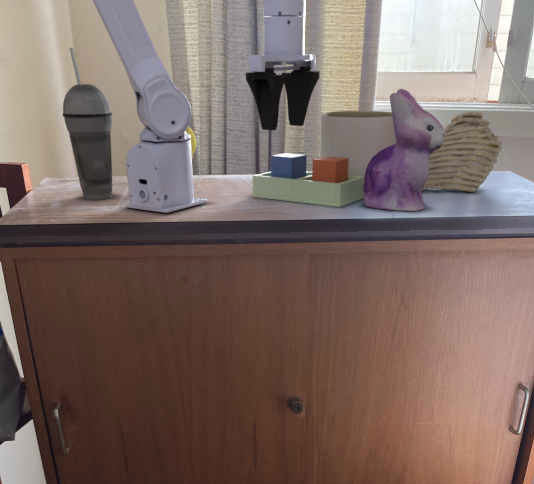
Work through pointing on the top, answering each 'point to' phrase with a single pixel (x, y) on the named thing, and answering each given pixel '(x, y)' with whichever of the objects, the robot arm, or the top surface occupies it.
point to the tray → (308, 189)
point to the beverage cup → (90, 137)
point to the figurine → (403, 158)
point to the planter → (356, 136)
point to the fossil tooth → (464, 154)
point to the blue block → (288, 165)
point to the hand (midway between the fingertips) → (283, 127)
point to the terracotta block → (330, 169)
